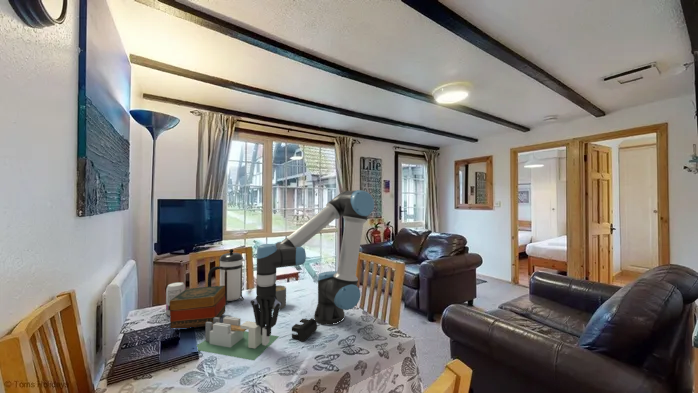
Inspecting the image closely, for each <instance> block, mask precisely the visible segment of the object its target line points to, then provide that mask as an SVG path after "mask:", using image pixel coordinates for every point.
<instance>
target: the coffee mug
mask: <svg viewBox="0 0 698 393" xmlns="http://www.w3.org/2000/svg"><path fill="white" fill-rule="evenodd" d="M276 298H277V301H279V302H282V305H281V306H280V309H279V310H282V309H284V308H286V307H287V287H286V286H285V285H280V284H279V285H277V284H276ZM274 305H275V303H274V304H273V308H272V311H274V308H275V307H274Z"/></svg>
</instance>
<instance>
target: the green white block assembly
mask: <svg viewBox="0 0 698 393" xmlns="http://www.w3.org/2000/svg"><path fill="white" fill-rule="evenodd" d="M222 320H223V322H221V317H220V318H218V317H215V318H213V323H214V322H216V323H215V324H213V327H212V322H206V326H205V339H204V340H203V341H201V342H200V343H198V344H197V345H196V346H197V347H198V351H199V352H198V353H200V352H206V353H211V354H216V355H223V356H227V357H232V358H239V359H244V360H249V361H255V360H256V359H257V358H259V357H260V356H261V355H262V354H263V353H264V352H265V351H266V350H267V349H269V347H270V346H271V345H272V344H273V343H274V342H275V341H277V340H278V338H279V337H280V335H279V336H278V335H273V334H271V335H270V336H269V343H268V344H267V345H266V346H265V345H262V343H261V344H260V345H259V346H258V347H257V348H255V349H254V348H248V336H249V331H247V330H245V331H236V330H231V325H237V326H241V325H242V324H241V318H240V317H233V316H225V317H223V319H222Z"/></svg>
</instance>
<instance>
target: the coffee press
mask: <svg viewBox="0 0 698 393" xmlns="http://www.w3.org/2000/svg"><path fill="white" fill-rule="evenodd" d="M228 251H229V252H227V253H224V254H222V255H221V256H220V258H219V259H218V260H219V266H213V267H211V269H209V271H208V272H207V287H212V276H213V275H212V274H213V273H214V272H215V271H217V270H219V286H225V306H227V304H228V302H232V301H236V300H239V301H241V302H243V300H245V298H244V296H243V266H244V264H243V262H245V259H244V257H243V255H242V254H241V253H240V252H234V249H233V248H230V249H229V250H228Z"/></svg>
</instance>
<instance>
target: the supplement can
mask: <svg viewBox="0 0 698 393" xmlns="http://www.w3.org/2000/svg"><path fill="white" fill-rule="evenodd" d="M184 290H186V285H185V283H184V282H179V281H177V282H172V283H169V284H168V285H167V286H166V290H165V291H166V292H165V296H166V298H165V306H166V307H165V314H166V316H168V317H170V300H172V299H173V298H174V297H176V296H177V295H179V294H180V293H181V292H183V291H184Z"/></svg>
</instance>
